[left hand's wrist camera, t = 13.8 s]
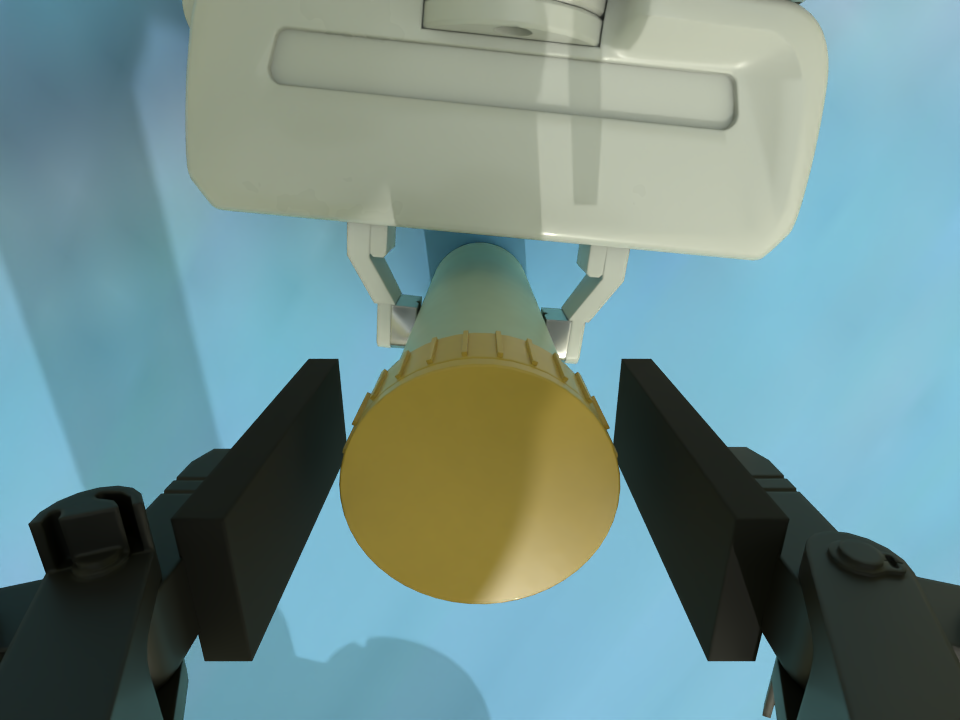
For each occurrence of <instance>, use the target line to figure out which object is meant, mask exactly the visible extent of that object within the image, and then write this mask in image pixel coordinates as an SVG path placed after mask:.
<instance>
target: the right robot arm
mask: <svg viewBox="0 0 960 720" xmlns="http://www.w3.org/2000/svg"><path fill="white" fill-rule="evenodd" d="M804 1H805V0H182V5H183V10H184V14H185V17H186V20H187V23H188V25H189V28H190V34H189V45H188V59H187V73H186V102H185V132H186V158H187V167H188V172H189V175H190V178H191V179H192V181H193V182H194V183H195V185H196V186H197V187H198V189H199V190H200V191H201V193H202V194H203V195H204V196H205V198H206V199H207V200H208V201H209V202H210V204H211V205H212V206H213V207H215V208H217V209H220V210H227V211H236V212H247V213H258V214H268V215H279V216H289V217H300V218H310V219H321V220H331V221H342V222H347V256H348V257H349V259H350V261H351V263H352V265H353V266H354V268H355V270H356V272H357V273H358V275H359V277H360V279H361V281H362V282H363V284H364V286H365V288H366V289H367V291H368V293H369V295H370V297H371V298H372V300H373V302H374V303H377V304H378V309H377V345H378V346H380V347H387V348H391V347H392V348H405V345H406V343H407V340H408V338H409V336H410V333H411V331H412V328H413V326H414V323H415V321H416V318H417V316H418V313H419V311H420V308H421V305H422V296H413V295H404V294H402V293H401V291H400V289H399V287H398V285H397V283H396V280H395V278H394V276H393V274H392V272H391V270H390V268H389V266H388V264H387V262H386V260H385V258H384V256H385V255H386V254H387V253H389V252H390V251H391V250H392V249H393V248H394V247H395V238H396V227H405V228H416V229H426V230H437V231H447V232H458V233H469V234H479V235H490V236H500V237H511V238H521V239H532V240H542V241H553V242H564V243H574V244H579V250H578V257H577V264H578V266H579V267H580V268H581V269H582V270H583V271H584V272H585V273H586V275H585V277H584V278H583V279H582V281H581V282H580V283H579V285H578V286H577V287H576V289H575V290H574V291H573V293H572V294H571V295H570V297H569V298H568V299H567V301H566V302H565V303H564V305H563V306H562V307H561V308H562V309H558V308H543V307H541V314H542V317H543V319H544V321H545V324H546V326H547V329H548V331H549V334H550V336H551V339H552V341H553V344H554V346H555V348H556V351H557V353H558V354H559V356H560V359H561V361H562V362H563V363H571V364H576V363H578V360H579V357H580V351H581V345H582V339H583V333H584V327H585V322H589V321H590V320H591V319H592V318H593V317H594V316H595V314H596V313H597V312H598V311H599V310H600V308H601V307H602V306H603V305H604V304H605V303H606V301H607V300H608V299H609V298H610V297H611V295H612V294H613V293H614V292H615V291H616V290H617V288H618V287H619V286H620V285H621V284H622V282H623V281H624V277H625V272H626V267H627V262H628V257H629V251H630V249H637V250H648V251H658V252H669V253H680V254H690V255H701V256H711V257H722V258H733V259H743V260H759V259H761V258H763V257H764V256H766V255H767V254H768V253H769V252H771V251H772V250H773V249H774V248H775V247H776V246H777V245H778V244H779V243H780V242H781V241H782V240H783V239H784V238H785V237H787V236H788V235H789V233H790V232H791V230H792V229H793V226H794V224H795V222H796V220H797V217H798V213H799V210H800V207H801V204H802V201H803V197H804V193H805V190H806V186H807V182H808V178H809V174H810V170H811V166H812V162H813V158H814V153H815V149H816V144H817V139H818V134H819V129H820V125H821V119H822V113H823V108H824V102H825V95H826V89H827V81H828V50H827V45H826V40H825V37H824V34H823V31H822V29H821V27H820V25H819V23H818V22H817V20H816V19H815V18H814V17H813V16H812V15H811V13H809V12H808V11H807V10H806V9H805V8H803V7H802V6H800V5H799V4H800V3H802V2H804Z"/></svg>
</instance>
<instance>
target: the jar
mask: <svg viewBox="0 0 960 720" xmlns="http://www.w3.org/2000/svg"><path fill="white" fill-rule="evenodd" d="M465 330H468V331H469V333H494V334H495V332H496V331H501V335H507V336H511V337H515V338H518V339H522V340H525V341H526V339H527V338H529V339H531V340H532V343H533V344H535V345H537V346H539V347H541V348H543V349H544V350H546V351H548V352H549V353H551V354H554V353H555V352H556V353H557V351H556V348H555V346H554V344H553V341H552V339H551V336H550V334H549V331H548V329H547V326H546V324H545V321H544V319H543V317H542V314H541V312H540V309H539V307H538V304H537V302H536V299H535V297H534V294H533V292H532V289H531V287H530V285H529V282H528V280H527V277H526V275H525V272H524V270H523V268H522V266H521V265H520V263H519V262H518V260H517V259H516V258H515V257H514V256H513V255H512V254H511V253H509V252H508V251H506V250H505V249H503V248H501V247H499V246H497V245H493V244H489V243H470V244H466V245H463V246H461V247H458V248H457V249H455V250H453V251H452V252H450V253H449V254H448V255H447V256H446V257H445V258H444V259H443V260H442V261H441V263H440V264H439V266H438V267H437V269H436V271H435V274H434V276H433V279H432V281H431V284H430V286H429V289H428V291H427V294H426V296H425V299H424V301H423V303H422V306H421V308H420V311H419V313H418V316H417V318H416V321H415V323H414V326H413V328H412V331H411V333H410V336H409V338H408V340H407V343H406V345H405V348H404V350H403V353H402V355H401V358H402V357H403V354H404V352H405V351H407V350H409V352H411V351H413V350H415V349H417V348H419V347H421V346H423V345H425V344H427V343H430V342H431V340H432V338H434V337H437V339H440V338H445V337H449V336H453V335H458V334H463V331H465ZM557 354H558V353H557ZM401 358H400V359H401Z"/></svg>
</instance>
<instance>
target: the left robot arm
mask: <svg viewBox="0 0 960 720" xmlns="http://www.w3.org/2000/svg"><path fill="white" fill-rule="evenodd" d="M345 444H346V432H345V422H344V412H343V402H342V391H341V381H340V371H339V361H338V359H308V360H307V362H306V363H305V364H304V365H303V366H302V367H301V369H300V370H299V371H298V372H297V373H296V374H295V375H294V377H293V378H292V379H291V380H290V381H289V382H288V384H287V385H286V386H285V387H284V388H283V389H282V391H281V392H280V393H279V394H278V395H277V396H276V397H275V399H274V400H273V401H272V402H271V403H270V404H269V406H268V407H267V408H266V409H265V410H264V411H263V412H262V414H261V415H260V416H259V417H258V418H257V419H256V421H255V422H254V423H253V424H252V425H251V426H250V427H249V429H248V430H247V431H246V432H245V433H244V434H243V436H242V437H241V438H240V439H239V440H238V441H237V443H236V444H235V445H234V446H233V447H232V448H231V449H213V450H211V451H210V452H208V453H206V454H204V455H203V456H201V457H199V458H198V459H196V460H194V461H192V462H191V463H190V464H189V465H188V466H187V467H186V468H185V469H184V470H183V471H182V472H181V473H180V474H179V476H178V477H177V480H176V481H173V482H172V483H171V484H170V485H169V486H168V487H167V488H166V489H165V490H164V494H160V495H159V496H158V497H157V498H156V500H155V501H154V502H153V503H152V504H151V505H150V506H149V507H148V508H147V509H146V510H145V506H144V502H143V498H142V495H141V493H140V492H138V491H137V490H135V489H134V488H130V487H123V486H110V487H99V488H95V489H92V490H88V491H84V492H80V493H77V494H74V495H72V496H70V497H67V498H65V499H62V500H60V501H57V502H56V503H54V504H53V505H51V506H49V507H48V508H46V509H45V510H43V511H41V512H40V513H39V514H38V515H37V516H36V517H35V518H34V519H33V520H32V521H31V522H30V523H29V527H30V530H31V533H32V536H33V538H34V541H35V544H36V547H37V550H38V553H39V555H40V558H41V561H42V564H43V567H44V569H45V572H46V574H45V576H44V578H43V579H42V580H37V581H33V582H28V583H23V584H18V585H13V586H9V587H4V588H0V720H183V718H184V710H185V703H186V695H187V688H188V674H187V668H186V664H185V660H184V657H185V656H186V654H187V652H188V651H189V649H190V647H191V645H192V644H193V642H194V640H195V639H196V637H197V635H199V639H200V644H201V648H202V652H203V656H204V660H205V661H252V660H253V658H254V656H255V654H256V652H257V649H258V647H259V645H260V643H261V641H262V638H263V636H264V634H265V632H266V630H267V627H268V625H269V623H270V621H271V619H272V616H273V614H274V612H275V610H276V608H277V605H278V603H279V601H280V599H281V597H282V594H283V592H284V590H285V588H286V586H287V584H288V581H289V579H290V577H291V575H292V573H293V570H294V568H295V566H296V564H297V562H298V559H299V557H300V555H301V553H302V551H303V548H304V546H305V544H306V542H307V540H308V537H309V535H310V533H311V531H312V529H313V526H314V524H315V522H316V520H317V518H318V515H319V513H320V511H321V509H322V507H323V505H324V502H325V500H326V498H327V496H328V494H329V491H330V489H331V487H332V485H333V483H334V480H335V478H336V476H337V474H338V472H339V469H340V467H341V464H342V459H343V455H344V453H342V452H343V448H344V446H345ZM613 445H614V447H615V449H616V451H617V454H618V457H617V460H618V465H619V467H620V469H621V472H622V474H623V476H624V478H625V480H626V483H627V485H628V487H629V489H630V491H631V494H632V496H633V498H634V500H635V502H636V504H637V507H638V509H639V511H640V513H641V515H642V518H643V520H644V522H645V524H646V526H647V529H648V531H649V533H650V535H651V537H652V540H653V542H654V544H655V546H656V548H657V551H658V553H659V555H660V557H661V559H662V562H663V564H664V566H665V568H666V570H667V573H668V575H669V577H670V579H671V581H672V583H673V586H674V588H675V590H676V592H677V594H678V597H679V599H680V601H681V603H682V605H683V608H684V610H685V612H686V614H687V616H688V619H689V621H690V623H691V625H692V627H693V630H694V632H695V634H696V636H697V638H698V641H699V643H700V645H701V647H702V649H703V651H704V654H705V656H706V658H707V660H708V661H755V660H756V656H757V652H758V648H759V644H760V639H761V635H762V633H763V634H764V636H765V638H766V639H767V641H768V643H769V644H770V646H771V648H772V649H773V651H774V653H775V654H776V660H775V664H774V668H773V672H772V676H771V680H770V683H769V687H768V691H767V695H766V699H765V703H764V709H763V715H762V716H765V717H768V718H771V714H772V710H773V707H774V705H775V709H776V717H777V720H960V586H959V585H954V584H949V583H944V582H939V581H935V580H930V579H925V578H920V577H917V576H916V575H915V573H914V572H913V571H912V569H911V568H910V567H909V566H908V565H907V563H906V562H905V561H904V560H903V559H902V558H900V557H899V556H898V555H896V554H895V553H893V552H892V551H891V550H889V549H888V548H886V547H884V546H882V545H880V544H878V543H876V542H874V541H871V540H869V539H867V538H864V537H860V536H857V535H853V534H850V533H845V532H838V531H837V530H836V529H835V528H834V527H833V526H832V525H831V524H830V523H829V522H828V521H827V520H826V519H825V518H824V517H823V516H822V515H821V514H820V513H819V511H818V510H817V509H816V508H815V507H814V506H813V505H812V504H811V503H810V502H809V501H808V500H807V499H806V498H805V497H804V496H803V495H802V494H801V493H800V492H797V491H796V488H795V487H794V486H793V485H792V484H791V482H790V481H789V480H788V479H784V475H783V474H782V473H781V472H780V471H779V470H778V469H777V468H776V467H775V466H774V465H773V464H772V463H771V462H770V461H769V460H768V459H766V458H764V457H763V456H761V455H759V454H757V453H756V452H754V451H752V450H750V449H749V448H747V447H727V446H726V445H725V444H724V442H723V441H722V440H721V439H720V438H719V437H718V436H717V434H716V433H715V432H714V431H713V430H712V429H711V427H710V426H709V425H708V424H707V423H706V422H705V421H704V419H703V418H702V417H701V416H700V415H699V414H698V412H697V411H696V410H695V409H694V408H693V407H692V406H691V404H690V403H689V402H688V401H687V400H686V399H685V397H684V396H683V395H682V394H681V393H680V392H679V391H678V389H677V388H676V387H675V386H674V385H673V384H672V382H671V381H670V380H669V379H668V378H667V377H666V375H665V374H664V373H663V372H662V371H661V370H660V369H659V367H658V366H657V365H656V364H655V363H654V362H653V360H652V359H622V361H621V371H620V381H619V391H618V402H617V412H616V422H615V432H614V442H613Z"/></svg>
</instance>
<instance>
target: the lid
mask: <svg viewBox="0 0 960 720" xmlns="http://www.w3.org/2000/svg"><path fill="white" fill-rule="evenodd" d="M352 425H354V427H353V429H352V431H351V433H350V435H349V437H348V440H347V442H346V444H345V446H344V448H343V452H342V453H344V455H343V459H342V464H341V468H340V482H339V486H340V498H341V503H342V508H343V512H344V516H345V518H346V521H347V523H348V526H349V528H350V531H351V532H352V534H353V536H354V538H355V539H356V541H357V543H358V544H359V546H360V547H361V548H362V550H363V551H364V552H365V553H366V555H367V556H368V557H369V558H370V559H371V560H372V561H373V562H374V563H375V564H376V565H377V566H378V567H379V568H380V569H381V570H383V571H384V572H385V573H387V574H388V575H389V576H390V577H392V578H393V579H395V580H397V581H398V582H400V583H402V584H403V585H405V586H407V587H409V588H411V589H413V590H415V591H417V592H420V593H422V594H425V595H428V596H431V597H434V598H438V599H442V600H447V601H451V602H458V603H467V604H491V603H503V602H508V601H513V600H518V599H522V598H525V597H528V596H532V595H535V594H537V593H540V592H542V591H544V590H547V589H549V588H551V587H553V586H554V585H556V584H558V583H560V582H562V581H563V580H565V579H566V578H568V577H569V576H570V575H572V574H573V573H575V572H576V571H577V570H578V569H579V568H580V567H581V566H583V565H584V564H585V563H586V562H587V561H588V560H589V559H590V558H591V556H592V555H593V554H594V553H595V552H596V550H597V549H598V548H599V547H600V545H601V543H602V542H603V540H604V539H605V537H606V536H607V534H608V531H609V529H610V527H611V525H612V523H613V520H614V517H615V514H616V510H617V507H618V501H619V494H620V472H619V466H618V460H617V457H618V454H617V451H616V449H615V447H614V445H613V443H612V440H611V438H610V436H609V434H608V432H607V429H609V425H608V423H607V421H606V419H605V417H604V415H603V413H602V411H601V409H600V407H599V405H598V403H597V401H596V399H595V397H594V396H592V397H591V396H590V394H589V392H588V390H587V388H586V385H585V383H584V381H583V379H582V377H581V375H580V374H579V373H578V372H577V373H576V374H574V372H573V371H572V370H571V369H570V368H569V367H568V366H567V365H566V364H564V363H563V362H562V361H561V359H560V356H559V354H557V353H556V352H555V353H554V354H551V353H549V352H548V351H546V350H544V349H543V348H541V347H539V346H537V345H535V344H533V343H532V340H531V339H529V338H527V339H526V341H525V340H522V339H518V338H515V337H511V336H507V335H501V331H496V332H495V334H494V333H469V331H468V330H465V331H463V334H458V335H453V336H449V337H445V338H440V339H437V337H434V338H432V340H431V342H430V343H427V344H425V345H423V346H421V347H419V348H417V349H415V350H413V351H411V352H409V350H407V351H405V352H404V354H403V357H402V358H401V359H400V360H399V361H397V362H396V363H395V364H394V365H393V366H392V367H391V368H390V369H389V370H388V371H387V370H385V369H384V370H383V371H382V372H381V375H380V377H379V379H378V381H377V383H376V385H375V387H374V389H373V391H372V393H371V394H370V393H368V392H367V394H366V396H365V398H364V400H363V402H362V404H361V406H360V408H359V410H358V412H357V414H356V416H355V418H354V420H353V423H352Z"/></svg>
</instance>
